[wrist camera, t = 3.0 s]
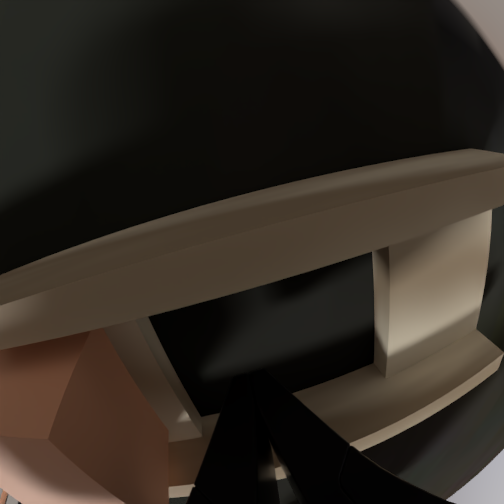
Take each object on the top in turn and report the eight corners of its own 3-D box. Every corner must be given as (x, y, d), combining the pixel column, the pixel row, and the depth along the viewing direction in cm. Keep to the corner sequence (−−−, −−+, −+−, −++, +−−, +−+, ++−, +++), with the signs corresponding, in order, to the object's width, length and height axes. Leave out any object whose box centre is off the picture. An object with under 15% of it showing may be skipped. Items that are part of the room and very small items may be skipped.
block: (168, 430, 9) (170, 530, 5) (61, 438, 8) (43, 517, 5) (97, 317, 7) (47, 439, 3) (-14, 343, 7) (-66, 423, 3)
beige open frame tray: (459, 334, 11) (497, 369, 9) (-23, 436, 9) (-37, 469, 7) (471, 148, 8) (535, 160, 5) (-102, 323, 6) (-128, 351, 3)
